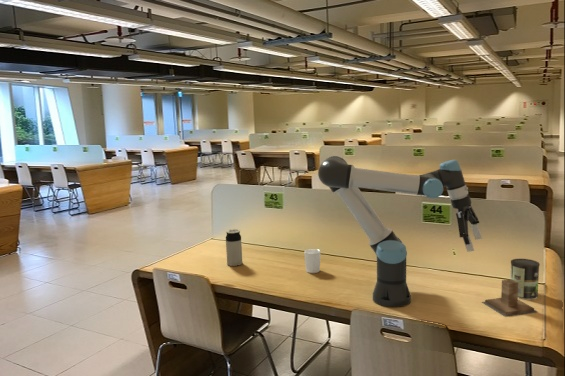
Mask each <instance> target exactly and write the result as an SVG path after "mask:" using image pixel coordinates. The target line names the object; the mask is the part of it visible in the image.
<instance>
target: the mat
mask: <svg viewBox="0 0 565 376" xmlns="http://www.w3.org/2000/svg"><path fill="white" fill-rule="evenodd" d="M481 303H482V304H484V306H487V308H488V307H489V308H490V309H492V310H493V311H495V312H496V313H498V314H500V315H501V316H503V317H505V318H507V317H513V316H514V317H515V316H523V315H527V314H536V313H538V311H537V310H535V309H534V311H533V312H526V313H519V314H512V315H504V314H503V313H501V312H500V311H498V310H496V309H495V308H493V307H491V306H490V305H488V304H486V303H485V301H481Z"/></svg>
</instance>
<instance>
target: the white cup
mask: <svg viewBox="0 0 565 376" xmlns="http://www.w3.org/2000/svg"><path fill="white" fill-rule="evenodd" d="M303 251H304V254H303V255H304V264H305V271H306V273H308V274H316V273H319V272H320V267H321V250H320V249H316V248H310V249H309V248H308V249H305V250H303Z"/></svg>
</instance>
